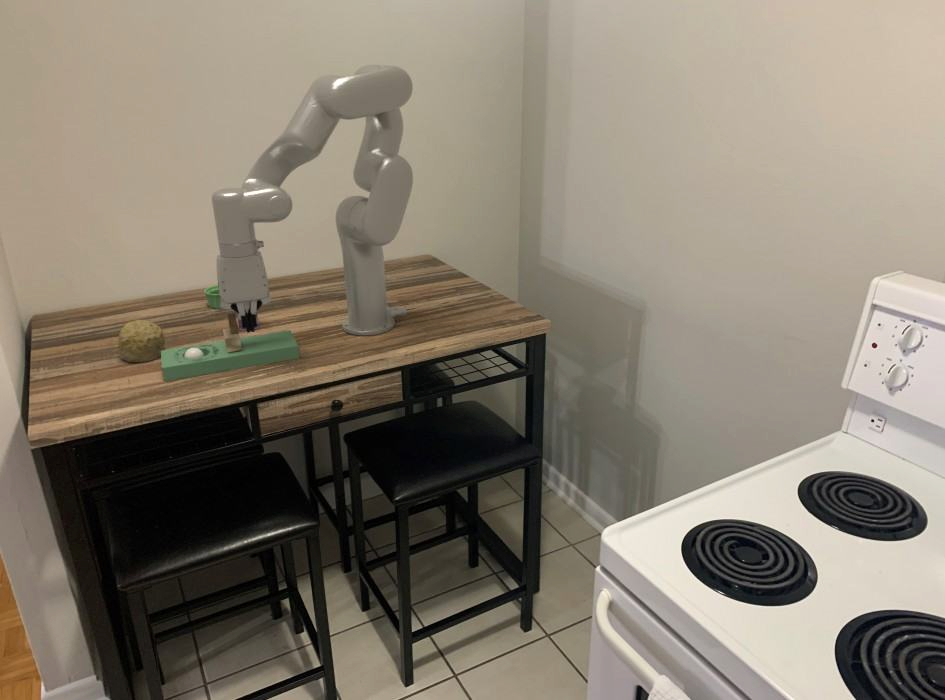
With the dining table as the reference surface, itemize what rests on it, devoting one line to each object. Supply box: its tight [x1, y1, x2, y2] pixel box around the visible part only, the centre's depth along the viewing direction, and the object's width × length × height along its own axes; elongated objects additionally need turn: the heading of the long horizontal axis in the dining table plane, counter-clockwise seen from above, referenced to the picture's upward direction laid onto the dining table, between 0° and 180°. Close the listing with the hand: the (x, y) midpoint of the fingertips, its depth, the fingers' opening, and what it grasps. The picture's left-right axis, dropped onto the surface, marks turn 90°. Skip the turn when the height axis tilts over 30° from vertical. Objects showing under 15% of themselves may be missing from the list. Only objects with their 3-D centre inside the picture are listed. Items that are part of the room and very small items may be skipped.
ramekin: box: [204, 284, 223, 310], centre depth 195 cm, size 9×9×4 cm
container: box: [236, 301, 260, 332], centre depth 177 cm, size 5×5×15 cm
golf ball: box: [184, 348, 204, 359], centre depth 158 cm, size 4×4×4 cm
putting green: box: [160, 329, 300, 382], centre depth 161 cm, size 28×10×3 cm, turn 112°
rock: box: [117, 319, 166, 363], centre depth 164 cm, size 10×11×10 cm
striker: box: [222, 312, 242, 352], centre depth 159 cm, size 3×6×7 cm, turn 22°
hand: (250, 330), depth 160 cm, fingers closed
